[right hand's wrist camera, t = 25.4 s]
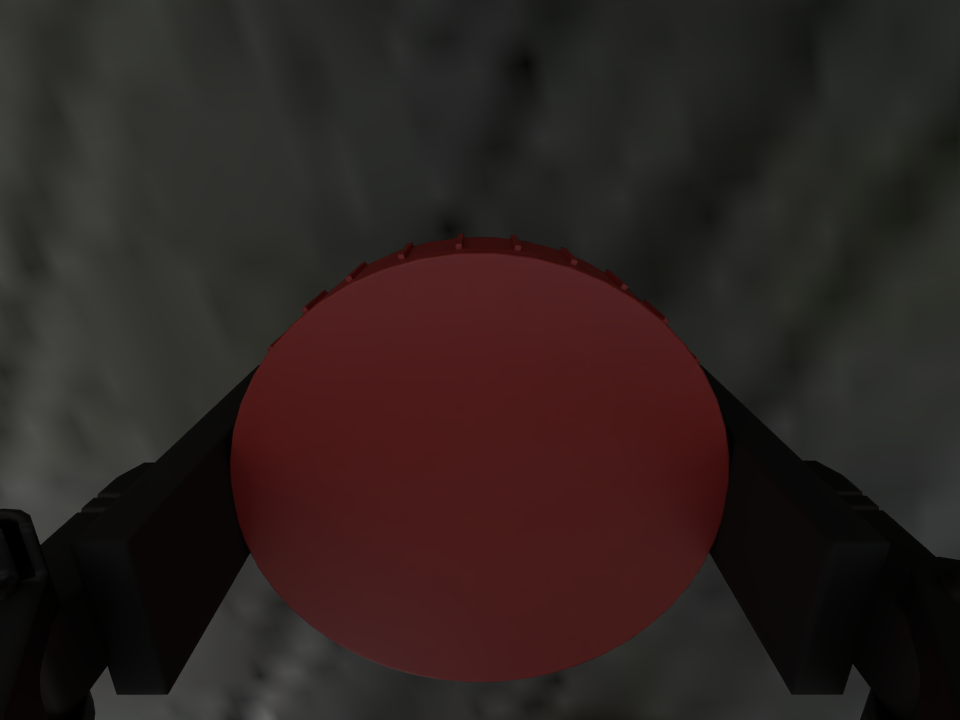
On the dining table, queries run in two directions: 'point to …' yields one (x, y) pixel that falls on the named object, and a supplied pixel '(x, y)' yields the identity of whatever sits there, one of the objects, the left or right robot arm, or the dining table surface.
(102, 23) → the dining table surface
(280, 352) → the lid
